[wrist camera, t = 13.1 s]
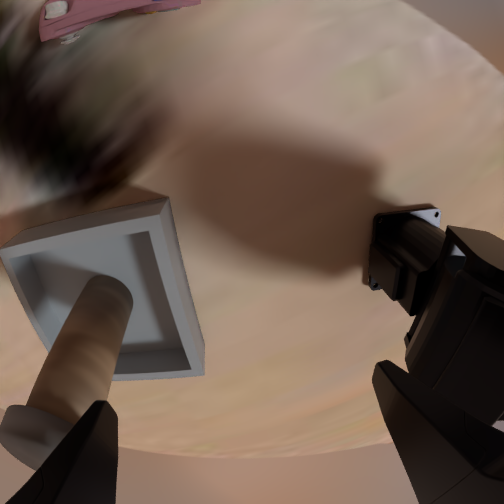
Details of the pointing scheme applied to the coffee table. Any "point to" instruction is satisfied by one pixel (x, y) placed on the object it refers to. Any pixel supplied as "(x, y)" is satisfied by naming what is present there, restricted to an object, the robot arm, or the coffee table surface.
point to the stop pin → (71, 372)
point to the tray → (122, 268)
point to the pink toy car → (93, 14)
